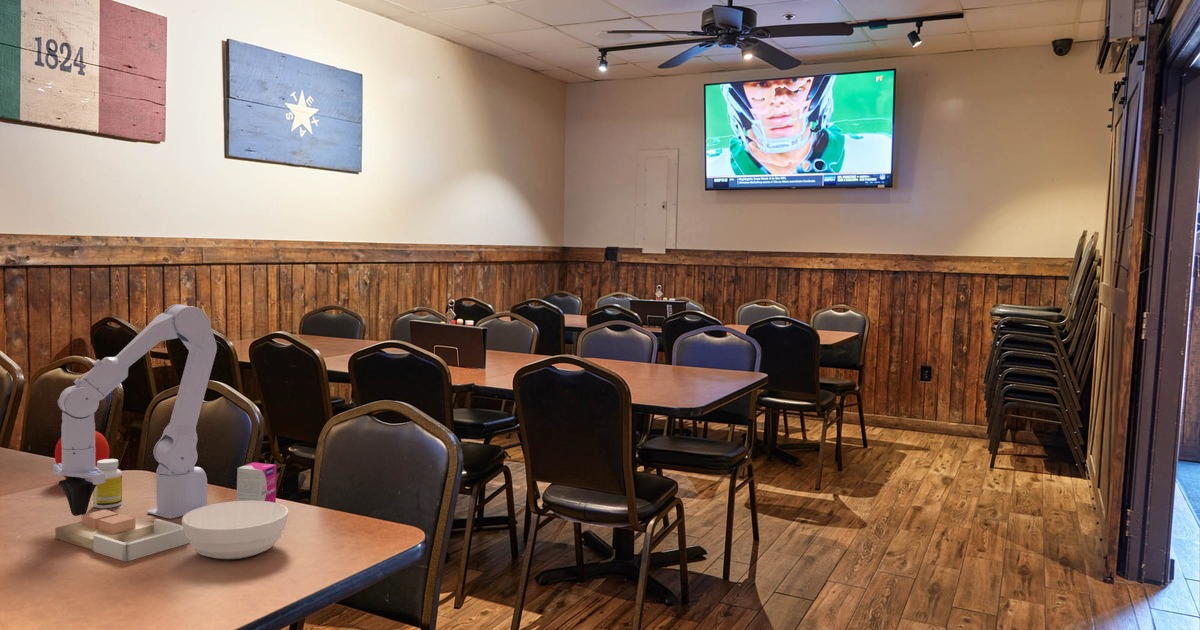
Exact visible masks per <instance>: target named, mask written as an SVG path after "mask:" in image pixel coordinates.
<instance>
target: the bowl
mask: <svg viewBox="0 0 1200 630" xmlns="http://www.w3.org/2000/svg"><path fill="white" fill-rule="evenodd" d="M288 516H289V509H288V507H287V506H285V505H283V504H280V503H277V502H276V503H273V502H267V501H237V500H236V501H235V500H234V501H226V502H225V501H224V502H218V503H212V504H207V506H203V507H200V508H197V509H194V510H192V511H190V512H188V513H186V514H185V515H183V516H182V517H181V523H182V524H181V525H182V526H183V529H184V534H185V536H186V537H187V538H188V539H189V545H190V546H191V547H192V548H193V549H194V551H196V552H197V553H198V554H199V555H202V556H204V557H209V558H213V559H217V560H239V559H245V558H249V557H253V556H256V555H258V554H260V553H263V552H265V551H267V550H269V549H271V548H272V547H273V546H274V545H275V544H276V543H277V542H278V541H279V539H280V538H281V534H282V531H284V530H285V528H286V526H287V521H288Z"/></svg>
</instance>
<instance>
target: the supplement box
mask: <svg viewBox="0 0 1200 630" xmlns="http://www.w3.org/2000/svg"><path fill="white" fill-rule="evenodd" d="M277 467H278V466H277V464H275V463H274V464H271V463H261V462H250V463H248V464H245V465H242V466H239V467H237V468H236V470H237V475H236V501H267V502H273V503H277V502H276V500H277V499H276V497H277Z"/></svg>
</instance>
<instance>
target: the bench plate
mask: <svg viewBox="0 0 1200 630" xmlns="http://www.w3.org/2000/svg"><path fill="white" fill-rule="evenodd" d="M117 513H118V515H120V514H121V513H119V512H117ZM135 518H136V528H135V529H131V530H127V531H123V532H120V533H116V534H110V533H107V532H103V531H100V530H99V528H98V529H93V528H90V527H87V526H84V525H82V520H81V521H79V522H78V521H77V522H73V523H69V524H65V525H61V526H58V527H55V532H54V533H55V535H54V537H55V539H57V540H60V541H63V542H66V543H70V544H73V545H75V546H77V547H78V546H79V547H81V548H85V549H88V550H91V551H94V546H93V535H97V534H98V535H102V536H105V537H108V538H111V539H115V540H118V541H121V542H124V541H127V540H131V539H135V538H138V537H142V536H146V535H149V534H153V533H154V522H150V521H147V520H143V519H139V518H137V517H135Z"/></svg>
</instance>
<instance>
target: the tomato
mask: <svg viewBox="0 0 1200 630" xmlns="http://www.w3.org/2000/svg"><path fill="white" fill-rule="evenodd" d="M109 457H110V446H109V443H108V440H107V438H106V437H105V436H104V435H103V434H102V433H101V432H99V431H97V430H95V466H96V467H97V462H98V461H99V460H104V459H110V458H109ZM54 460H55V464H59V463H62V436H61V437H60V438H59V439H58V442H57V443H56V445H55V450H54ZM62 477H64V478H65V479H66V478H67V476H62Z"/></svg>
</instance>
